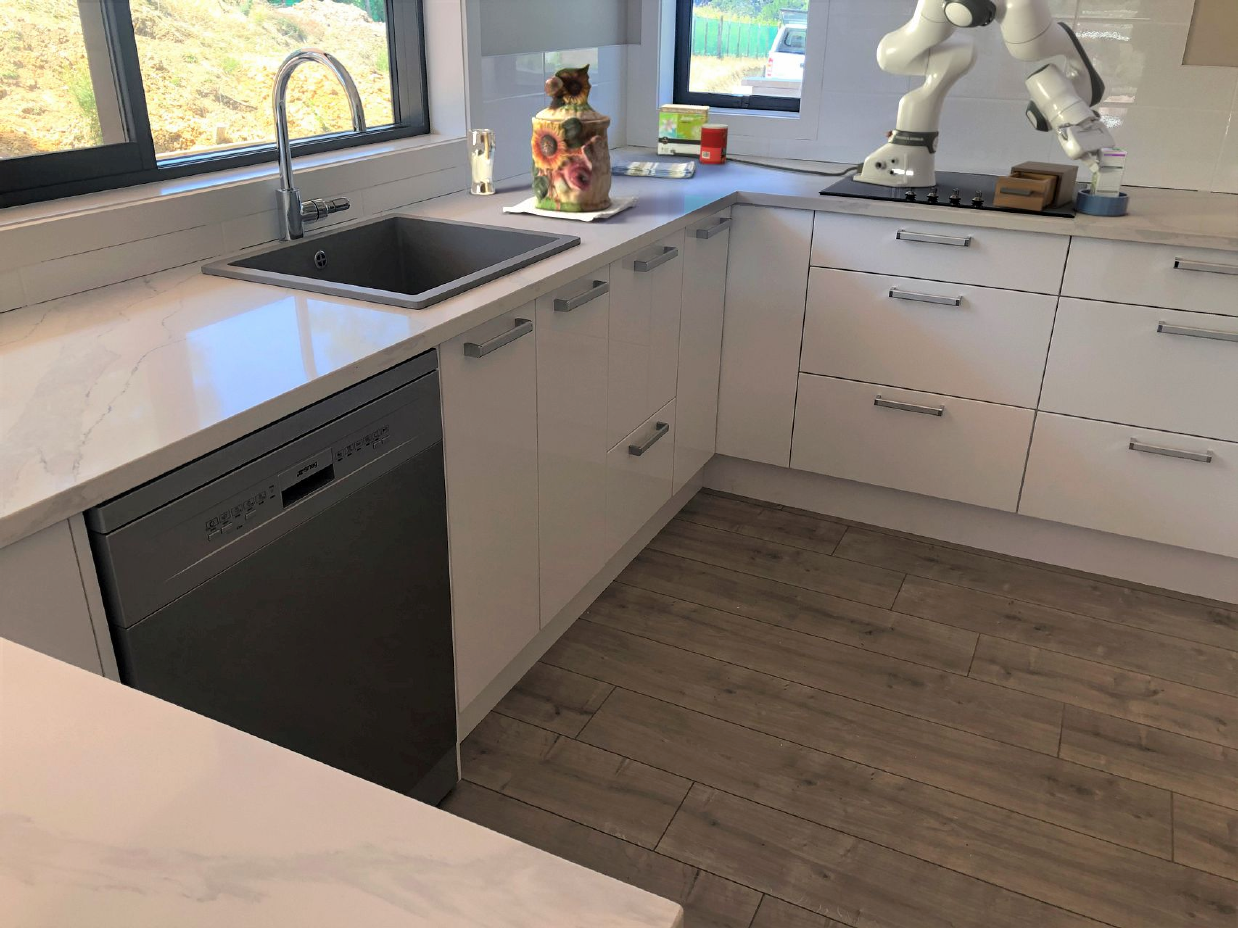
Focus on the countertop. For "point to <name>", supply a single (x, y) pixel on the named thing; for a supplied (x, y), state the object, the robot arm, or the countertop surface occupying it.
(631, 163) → the dish towel
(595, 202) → the cookie jar
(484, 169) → the beer glass
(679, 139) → the tea box
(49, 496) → the countertop surface
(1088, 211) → the bowl
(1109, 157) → the syrup box
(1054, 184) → the drawer
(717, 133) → the canned food
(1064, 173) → the cabinet
